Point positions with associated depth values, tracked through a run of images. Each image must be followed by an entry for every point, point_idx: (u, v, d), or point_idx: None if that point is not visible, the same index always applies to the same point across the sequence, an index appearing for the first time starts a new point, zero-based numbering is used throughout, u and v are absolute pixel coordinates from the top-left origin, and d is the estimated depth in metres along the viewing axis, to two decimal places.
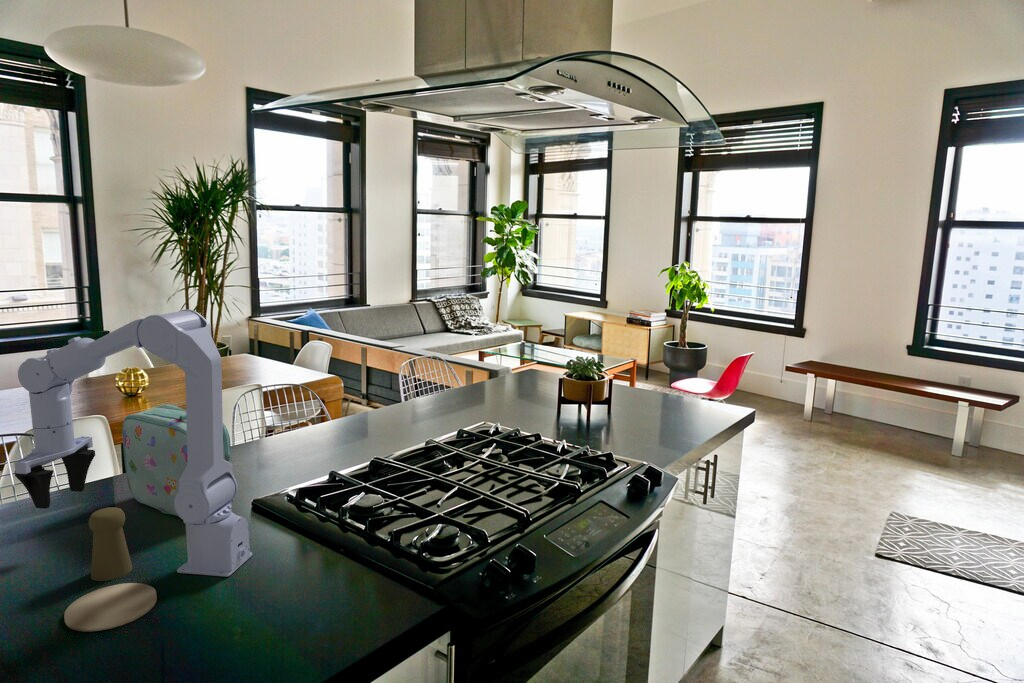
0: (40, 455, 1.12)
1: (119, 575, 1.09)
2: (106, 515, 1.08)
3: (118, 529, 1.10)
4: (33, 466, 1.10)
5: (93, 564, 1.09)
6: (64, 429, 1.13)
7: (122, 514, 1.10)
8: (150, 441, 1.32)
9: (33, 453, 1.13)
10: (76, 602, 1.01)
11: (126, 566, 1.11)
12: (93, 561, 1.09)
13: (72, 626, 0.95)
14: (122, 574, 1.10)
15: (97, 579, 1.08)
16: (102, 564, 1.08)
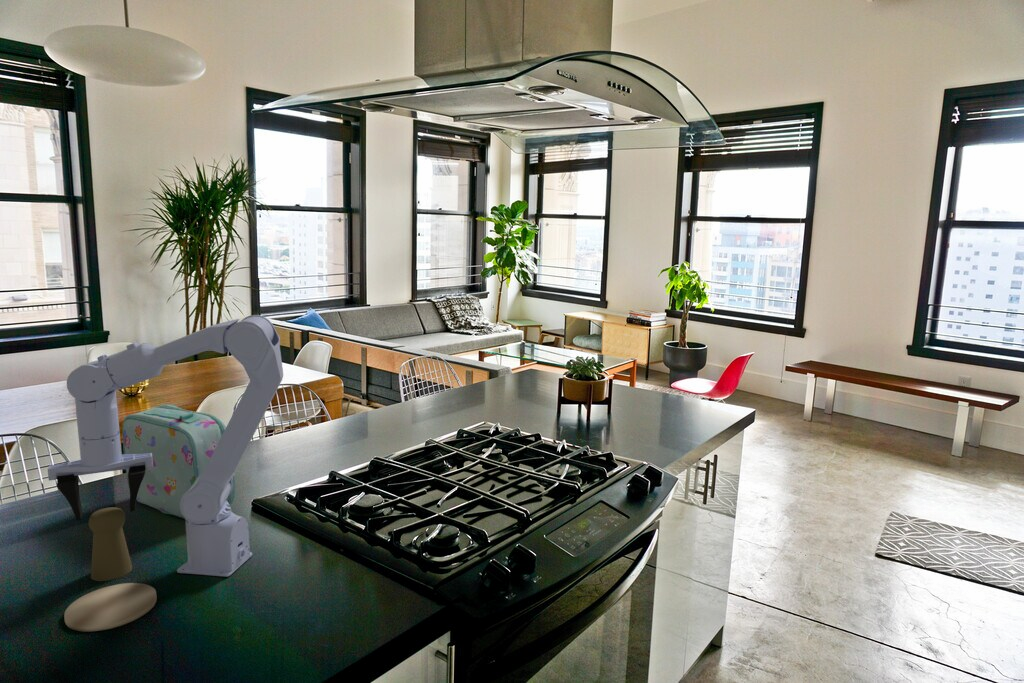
0: (78, 464, 1.07)
1: (119, 575, 1.09)
2: (106, 515, 1.08)
3: (118, 529, 1.10)
4: (65, 474, 1.06)
5: (93, 564, 1.09)
6: (93, 443, 1.05)
7: (122, 514, 1.10)
8: (150, 441, 1.32)
9: None
10: (76, 602, 1.01)
11: (126, 566, 1.11)
12: (93, 561, 1.09)
13: (72, 626, 0.95)
14: (122, 574, 1.10)
15: (97, 579, 1.08)
16: (102, 564, 1.08)
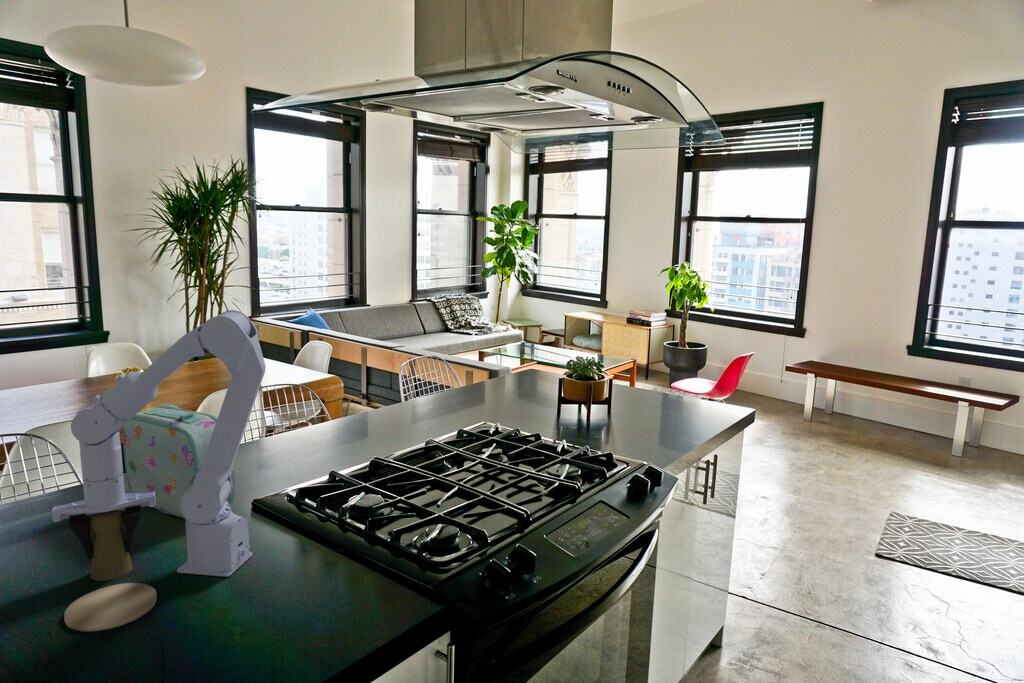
0: (82, 505, 1.08)
1: (119, 575, 1.09)
2: (106, 515, 1.08)
3: (118, 529, 1.10)
4: (69, 515, 1.07)
5: (93, 564, 1.09)
6: (97, 485, 1.06)
7: (122, 514, 1.10)
8: (150, 441, 1.32)
9: None
10: (76, 602, 1.01)
11: (126, 566, 1.11)
12: (93, 561, 1.09)
13: (72, 626, 0.95)
14: (122, 574, 1.10)
15: (97, 579, 1.08)
16: (102, 564, 1.08)
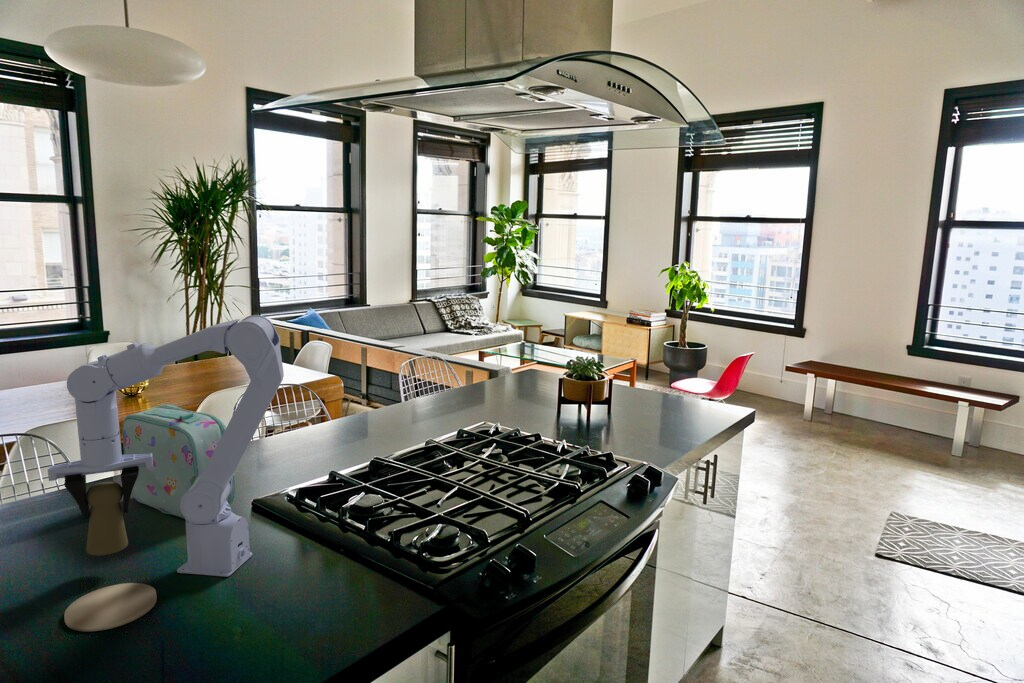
0: (78, 464, 1.06)
1: (116, 550, 1.09)
2: (105, 489, 1.07)
3: (116, 504, 1.09)
4: (65, 474, 1.06)
5: (90, 538, 1.08)
6: (93, 443, 1.05)
7: (121, 488, 1.09)
8: (150, 442, 1.32)
9: None
10: (76, 602, 1.01)
11: (123, 541, 1.10)
12: (90, 535, 1.08)
13: (72, 626, 0.95)
14: (119, 549, 1.09)
15: (94, 553, 1.08)
16: (99, 539, 1.07)
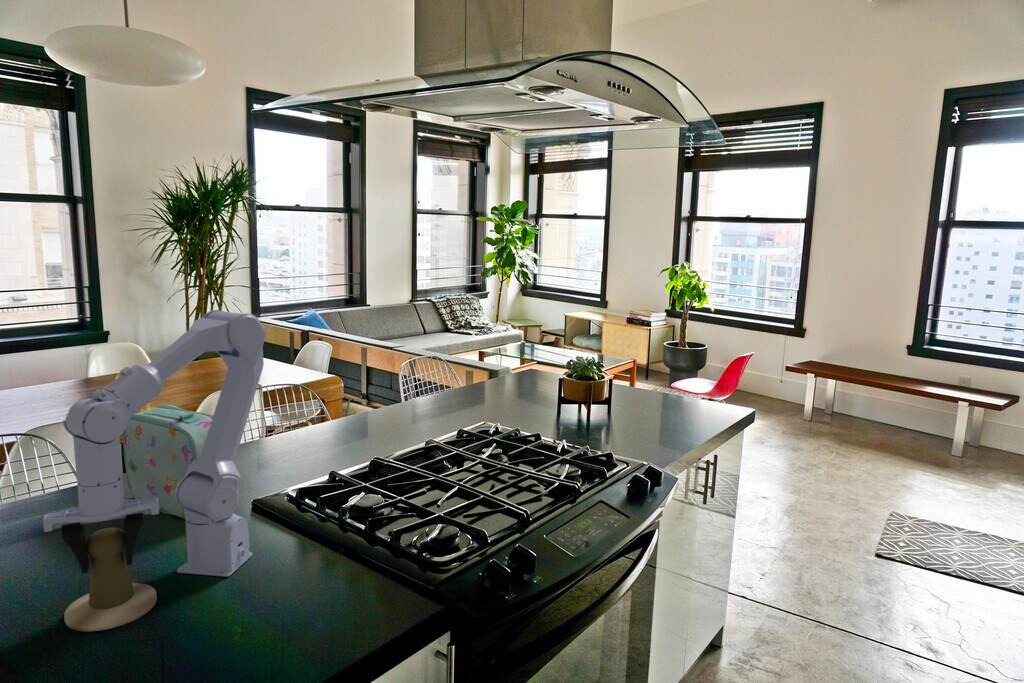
0: (76, 513, 0.96)
1: (121, 602, 1.00)
2: (107, 538, 0.98)
3: (120, 552, 1.00)
4: (62, 524, 0.95)
5: (92, 591, 0.99)
6: (93, 490, 0.95)
7: (123, 536, 1.00)
8: (150, 441, 1.32)
9: None
10: (76, 602, 1.01)
11: (129, 591, 1.01)
12: (92, 587, 0.99)
13: (72, 626, 0.95)
14: (124, 600, 1.00)
15: (97, 607, 0.99)
16: (103, 591, 0.99)
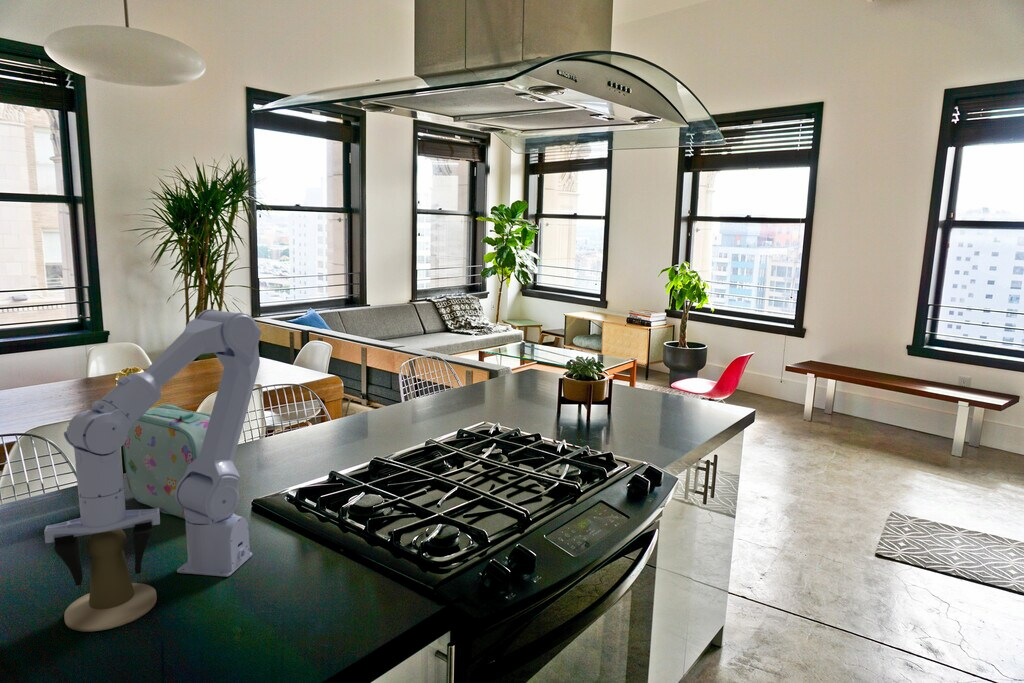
0: (78, 524, 0.97)
1: (121, 602, 1.00)
2: (107, 536, 0.99)
3: (120, 552, 1.00)
4: (63, 535, 0.96)
5: (92, 591, 0.99)
6: (94, 502, 0.95)
7: (124, 535, 1.01)
8: (150, 441, 1.32)
9: None
10: (76, 602, 1.01)
11: (129, 592, 1.01)
12: (92, 587, 0.99)
13: (72, 626, 0.95)
14: (124, 600, 1.00)
15: (97, 607, 0.99)
16: (103, 591, 0.99)
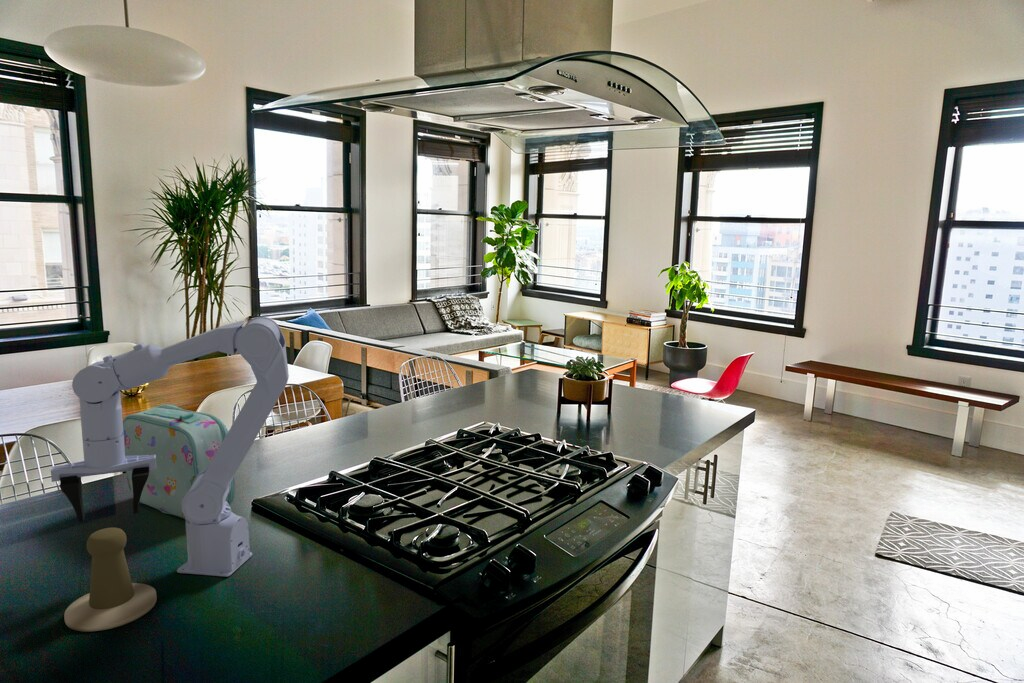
0: (81, 465, 1.06)
1: (121, 602, 1.00)
2: (107, 536, 0.99)
3: (120, 552, 1.00)
4: (68, 475, 1.05)
5: (92, 591, 0.99)
6: (97, 444, 1.04)
7: (124, 535, 1.01)
8: (150, 441, 1.32)
9: None
10: (76, 602, 1.01)
11: (129, 592, 1.01)
12: (92, 587, 0.99)
13: (72, 626, 0.95)
14: (124, 600, 1.00)
15: (97, 607, 0.99)
16: (103, 591, 0.99)
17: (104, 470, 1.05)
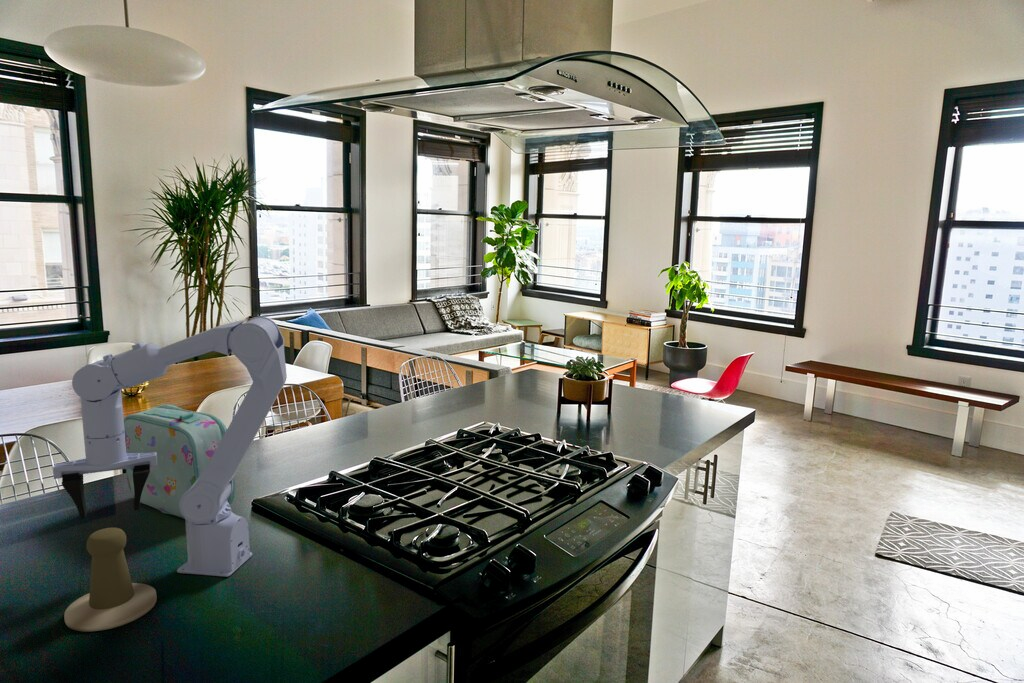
0: (83, 463, 1.07)
1: (121, 602, 1.00)
2: (107, 536, 0.99)
3: (120, 552, 1.00)
4: (70, 472, 1.06)
5: (92, 591, 0.99)
6: (98, 442, 1.05)
7: (123, 535, 1.01)
8: (150, 441, 1.32)
9: None
10: (76, 602, 1.01)
11: (129, 592, 1.01)
12: (92, 587, 0.99)
13: (72, 626, 0.95)
14: (124, 600, 1.00)
15: (97, 607, 0.99)
16: (103, 591, 0.99)
17: (105, 467, 1.06)
